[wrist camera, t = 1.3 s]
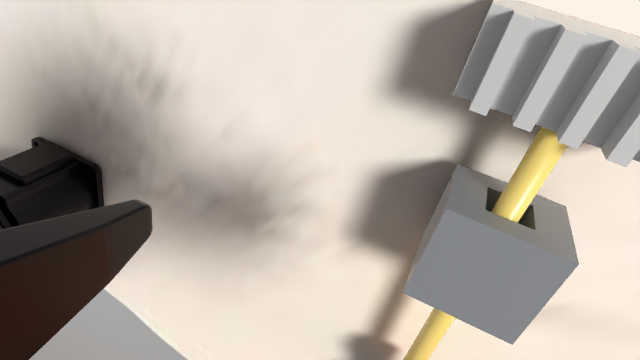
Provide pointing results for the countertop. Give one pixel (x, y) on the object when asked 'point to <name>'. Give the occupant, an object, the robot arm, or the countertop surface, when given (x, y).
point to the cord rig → (548, 101)
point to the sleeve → (491, 257)
